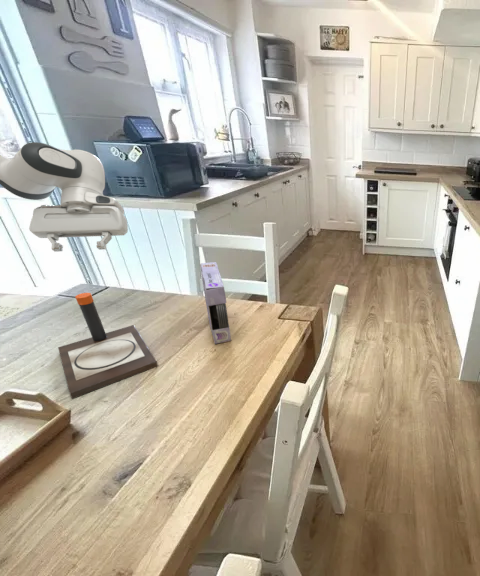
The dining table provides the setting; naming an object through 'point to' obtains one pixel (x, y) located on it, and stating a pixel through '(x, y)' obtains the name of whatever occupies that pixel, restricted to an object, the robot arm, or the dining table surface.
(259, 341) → the dining table surface
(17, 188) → the robot arm
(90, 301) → the marker
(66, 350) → the picture frame
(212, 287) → the cake pan box
